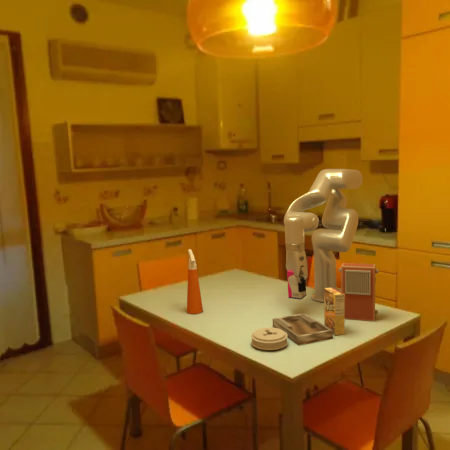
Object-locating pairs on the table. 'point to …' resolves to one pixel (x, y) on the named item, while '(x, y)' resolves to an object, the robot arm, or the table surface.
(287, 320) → the shallow rectangular tray
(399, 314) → the table surface
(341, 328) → the candy box
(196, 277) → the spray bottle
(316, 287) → the robot arm
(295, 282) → the supplement box
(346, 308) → the red speaker
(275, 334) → the lid
